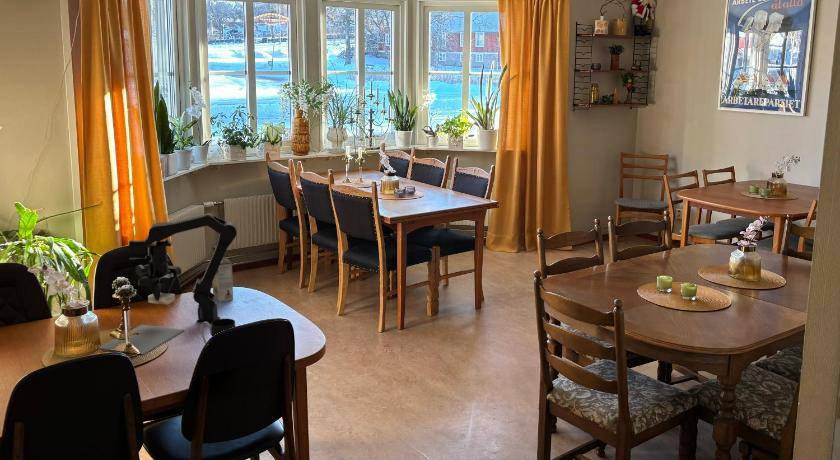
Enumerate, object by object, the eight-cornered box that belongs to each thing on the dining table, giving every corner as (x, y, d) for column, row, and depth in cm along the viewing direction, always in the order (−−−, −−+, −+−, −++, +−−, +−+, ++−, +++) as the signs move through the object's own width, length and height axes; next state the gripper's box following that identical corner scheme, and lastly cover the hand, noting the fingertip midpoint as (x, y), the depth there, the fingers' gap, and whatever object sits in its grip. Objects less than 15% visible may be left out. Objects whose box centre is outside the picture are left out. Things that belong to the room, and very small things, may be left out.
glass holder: (226, 373, 246) (223, 328, 243) (193, 364, 253) (190, 321, 250) (244, 364, 254) (242, 320, 250) (212, 355, 261) (210, 313, 257)
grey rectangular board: (184, 331, 283) (184, 329, 283) (143, 355, 260) (143, 353, 260) (141, 325, 288) (141, 324, 288) (98, 348, 265) (98, 347, 265)
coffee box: (212, 295, 323) (210, 258, 320) (227, 293, 327) (225, 256, 323) (218, 302, 316) (216, 264, 312) (234, 299, 319) (232, 262, 315)
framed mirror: (175, 300, 290) (174, 293, 290) (167, 304, 285) (167, 297, 285) (156, 298, 292) (155, 291, 291) (148, 302, 287) (148, 295, 287)
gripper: (155, 249, 296) (158, 289, 299) (124, 262, 278) (127, 303, 282) (181, 252, 293) (183, 291, 296) (150, 264, 275) (153, 306, 279)
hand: (161, 298), depth 288 cm, fingers closed on framed mirror, 5 cm apart
